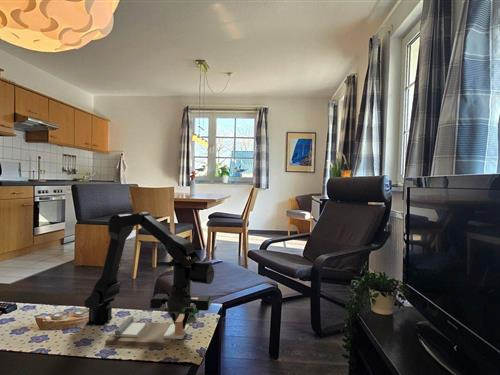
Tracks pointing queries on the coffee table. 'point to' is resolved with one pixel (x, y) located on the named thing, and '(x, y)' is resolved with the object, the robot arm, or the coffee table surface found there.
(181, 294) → the robot arm
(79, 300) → the coffee table surface
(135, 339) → the board
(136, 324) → the white tray
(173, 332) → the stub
